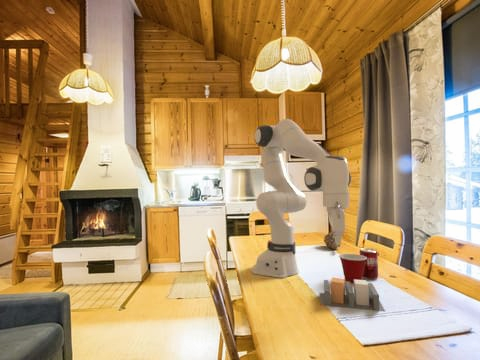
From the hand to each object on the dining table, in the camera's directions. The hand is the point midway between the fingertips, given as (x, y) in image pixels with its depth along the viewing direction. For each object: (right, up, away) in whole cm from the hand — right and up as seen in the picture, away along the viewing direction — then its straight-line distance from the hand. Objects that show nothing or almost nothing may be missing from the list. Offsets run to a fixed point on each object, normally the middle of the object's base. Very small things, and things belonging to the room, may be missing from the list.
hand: (336, 240), depth 92 cm
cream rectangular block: (+8, -21, -2) cm, 22 cm away
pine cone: (+25, -22, +70) cm, 78 cm away
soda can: (+24, -22, +25) cm, 41 cm away
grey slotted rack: (+4, -22, -1) cm, 23 cm away
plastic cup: (+13, -22, +17) cm, 31 cm away
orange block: (+1, -21, 0) cm, 21 cm away
